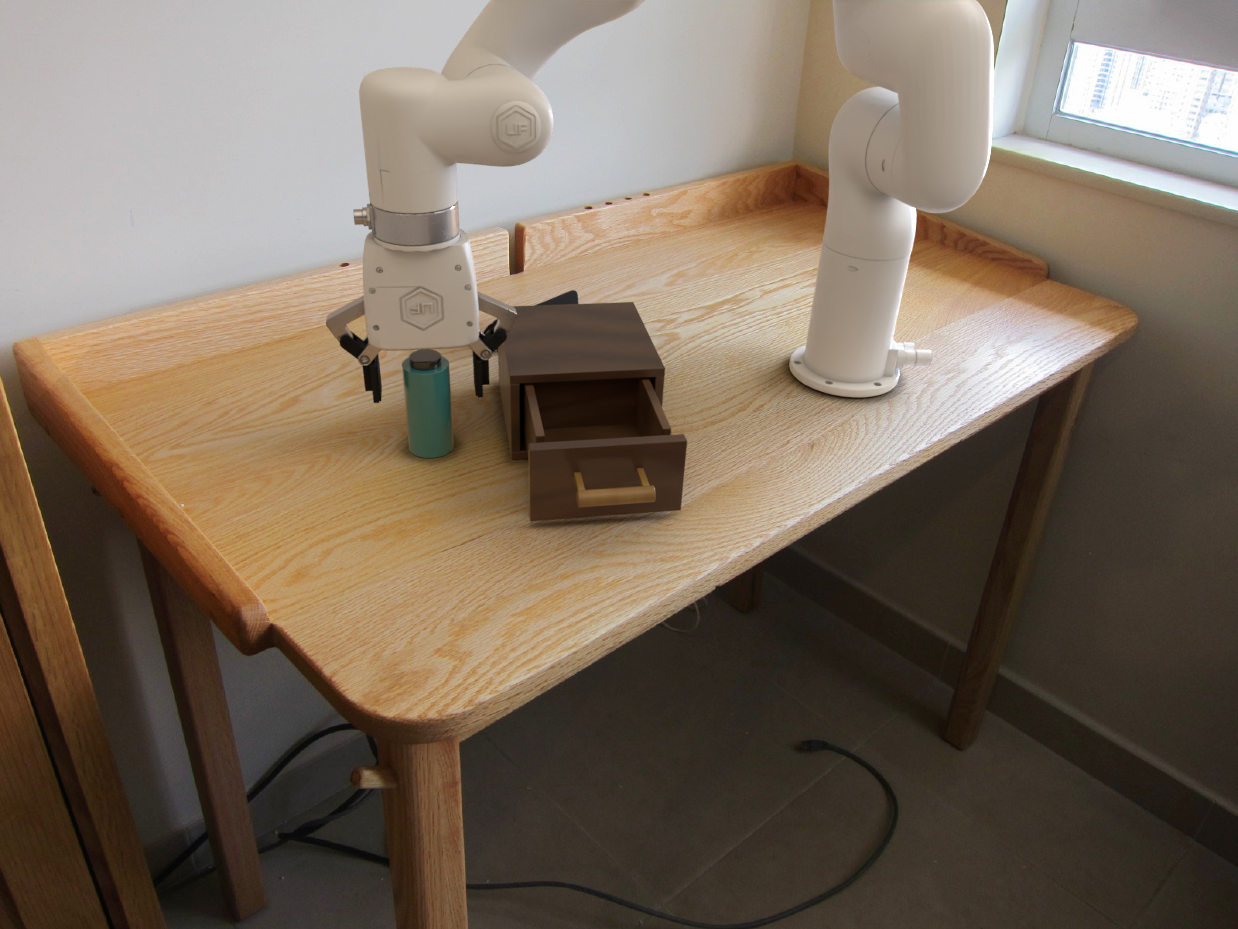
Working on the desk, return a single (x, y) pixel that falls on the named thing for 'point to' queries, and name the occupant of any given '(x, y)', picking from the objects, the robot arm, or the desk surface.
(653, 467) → the drawer
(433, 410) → the bottle
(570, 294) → the electric trimmer
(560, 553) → the desk surface
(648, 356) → the cabinet
